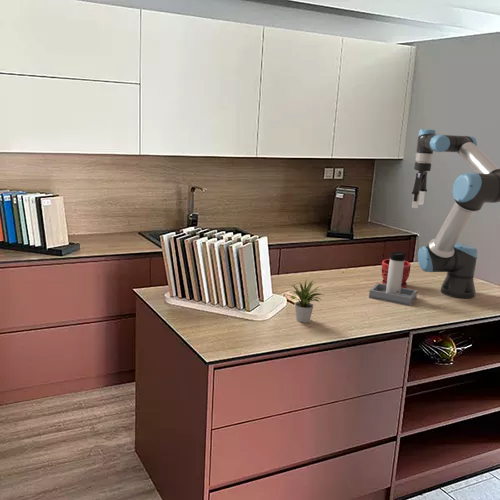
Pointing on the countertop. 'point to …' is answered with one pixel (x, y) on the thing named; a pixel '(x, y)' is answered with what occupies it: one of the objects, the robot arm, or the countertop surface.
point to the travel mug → (395, 272)
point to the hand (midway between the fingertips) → (417, 206)
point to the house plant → (305, 302)
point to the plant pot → (386, 267)
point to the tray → (393, 295)
